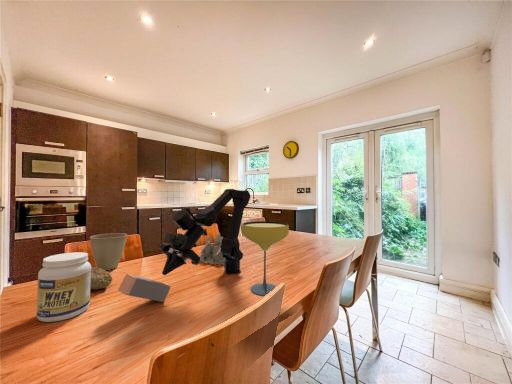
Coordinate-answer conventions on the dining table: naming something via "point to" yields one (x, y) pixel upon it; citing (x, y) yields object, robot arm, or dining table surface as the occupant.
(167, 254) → the robot arm
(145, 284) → the charcoal block
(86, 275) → the supplement tub
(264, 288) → the cocktail glass
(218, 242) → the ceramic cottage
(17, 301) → the dining table surface
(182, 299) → the dining table surface
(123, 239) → the plant pot
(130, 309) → the dining table surface
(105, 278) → the brown rock
